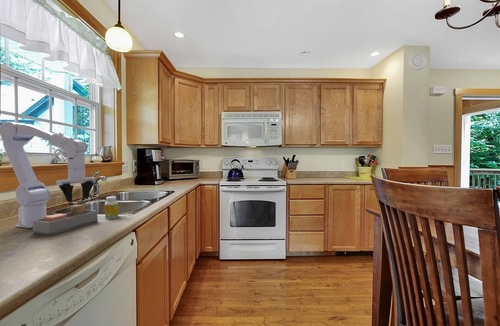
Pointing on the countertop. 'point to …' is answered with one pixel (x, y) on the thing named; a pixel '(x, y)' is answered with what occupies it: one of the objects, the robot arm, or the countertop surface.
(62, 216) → the cube
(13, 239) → the countertop surface
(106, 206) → the supplement bottle
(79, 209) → the cylinder
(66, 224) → the box
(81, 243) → the countertop surface
